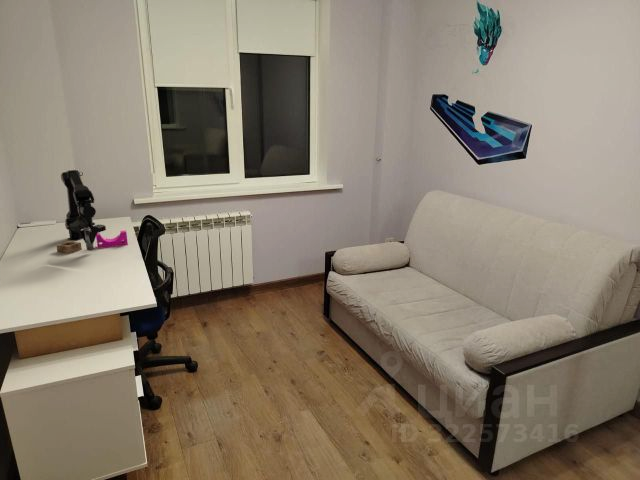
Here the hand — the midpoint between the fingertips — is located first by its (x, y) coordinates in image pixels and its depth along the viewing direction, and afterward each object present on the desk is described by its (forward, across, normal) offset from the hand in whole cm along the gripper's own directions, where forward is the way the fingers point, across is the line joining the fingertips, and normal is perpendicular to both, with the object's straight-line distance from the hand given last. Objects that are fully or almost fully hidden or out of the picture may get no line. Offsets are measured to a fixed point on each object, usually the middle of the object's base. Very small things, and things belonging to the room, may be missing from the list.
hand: (89, 243), depth 228 cm
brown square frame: (+6, -14, 0) cm, 15 cm away
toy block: (+6, -1, +17) cm, 18 cm away
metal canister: (+3, 0, 0) cm, 3 cm away
